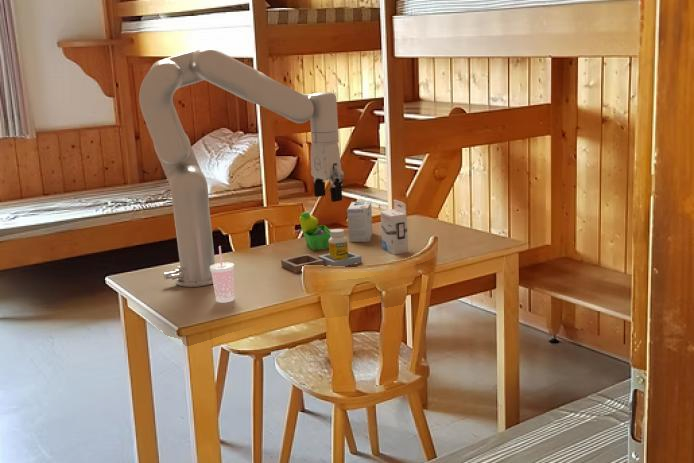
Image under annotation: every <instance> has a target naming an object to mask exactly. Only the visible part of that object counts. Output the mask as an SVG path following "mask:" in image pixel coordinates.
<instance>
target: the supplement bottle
mask: <svg viewBox="0 0 694 463" xmlns="http://www.w3.org/2000/svg"><path fill="white" fill-rule="evenodd" d="M330 235H331V237H330V238H329V248H328V251H329V252H328V254H330V259H332V260H334V261H337V260H341V259H346V258H348V251H349V246H348V238H347V237H346V236H345V229H343V228H335V229H334V228H333V229H330Z"/></svg>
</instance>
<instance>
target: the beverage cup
mask: <svg viewBox="0 0 694 463" xmlns="http://www.w3.org/2000/svg"><path fill="white" fill-rule="evenodd" d="M221 247H222V246H221V245H219V246H218V251H219V252H218V253H219V260H220V261H219V262H218V263H215V264H213V265H211V266H210V271H211V273H212V279H213V284H212V285H213V289H214V295H215V296H214V297H215V301H216V303H221V304H222V303H228V302H229V303H230V302H232V301H234V300H235V282H234V280H235V279H234V269H235V264H234V263H233V262H223V257H222V248H221Z"/></svg>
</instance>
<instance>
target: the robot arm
mask: <svg viewBox="0 0 694 463" xmlns="http://www.w3.org/2000/svg"><path fill="white" fill-rule="evenodd" d="M203 81H206V82H208V83H209V84H212V85H214V86H216V87H218V88H220V89H222V90H224V91H227V92H229V93H230V94H233V95H234V96H236V97H238V98H240V99H242V100H245V101H247V102H248V103H251V104H255V105H258V106H261V107H263V108H264V109H267V110H269V111H271V112H273V113H275V114H277V115H279V116H281V117H284V118H285V119H287V120H289V121H291V122H293V123H295V124H304V123H307V122H308V121H309V120H310V134H311V135H310V136H311V146H310V175H311V177H312V178H313V179H312V182H313V187H314V188H313V190H314V191H313V192H314V197H316V198H318V197H325V196H326V182H325V181H328V182H329V183H330V185H331V187H330V201H331V202H333V203H334V202H335V203H336V202H340V201H341V202H342V201H343V190H342V189H343V188H342V187H343V182H344V175H345V173H344V171H343V170H342V165H341V164H342V163H341V153H340V146H339V142H340V141H339V139H340V138H339V122H338V121H339V120H338V100H337V96H336V94H335V93H334V92H331V91H327V92H314V93H300V92H298V91H297V90H295V89H292V88H291V87H289V86H287V85H285V84H283V83H280V82H279V81H277V80H275V79H273V78H272V77H270V76H268V75H266V74H264V72H261V71H260V70H258V69H255V68H254V67H251V66H250V65H247V64H246V63H244V62H241V61H240V60H238V59H236V58H233V57H232V56H230V55H228V54H225V53H224V52H222V51H220V50H219V49H216V48H213V47H210V46H209V47H208V46H206V47H200V48H197V49H195V50H192V51H191V50H190V51H188V52H184V53H181V54H178V55H174V56H170V57H167V58H163V59H160V60H157V61H156V62H154V63H153V64H152V65H151V67H150V69H149V70H148V72H147V74H145V76H144V78H143V79H142V82H141V85H140V89H139V95H138V98H139V99H138V101H139V102H138V103H139V107H140V110H141V114H142V117H143V119H144V122H145V124H146V128H147V130H148V133H149V136H150V138H151V140H152V143H153V147H154V151H155V154H156V156H157V158H158V160H159V162H160V164H161V167H162V170H163V172H164V174H165V176H166V179H167V181H168V184H169V187H170V193H171V200H172V201H171V202H172V210H173V218H174V226H175V232H176V233H175V234H176V242H177V251H178V252H177V253H178V259H179V265H177V266H176V269H174V271H166V272H163V274H162V275H163V279H164V280H166V281H167V280H169V279H170V280H172V281H173V280H175V283H176V285H178V286H180V287H185V288H187V287H188V288H194V287H196V288H197V287H198V288H199V287H205V286H209V285H213V279H212V273H211V271H210V266H211V265H213V264H216V259H215V251H214V250H215V249H214V240H213V232H212V222H211V221H212V220H211V213H210V200H209V199H210V198H209V187H208V181H207V178H206V176H205V175H204V173H203V171H202V169H201V167H200V165H199V162H198V160H197V157H196V155H195V152H194V150H193V148H192V145H191V141H190V138H189V137H188V135H187V133H186V132H185V130H184V128H183V125H182V123H181V121H180V118H179V115H178V112H177V109H176V107H175V104H174V95H175V92H176V91H177V90H178V89H180V88H183V87H187V86H190V85H194V84H197V83H199V82H203Z"/></svg>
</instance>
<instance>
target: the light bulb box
mask: <svg viewBox="0 0 694 463" xmlns="http://www.w3.org/2000/svg"><path fill="white" fill-rule="evenodd" d="M372 214H373V213H372V201H371V200H370V201H369V200H367V201H351V202H350V205H349V206H348V208H347V209H346V216H347V230H348V233H347V234H348V243H349V242H350V243H353V242H360V243H361V242H370V240H371V237H372V235H373V233H374V231H373V230H374V228H373V215H372Z"/></svg>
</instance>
